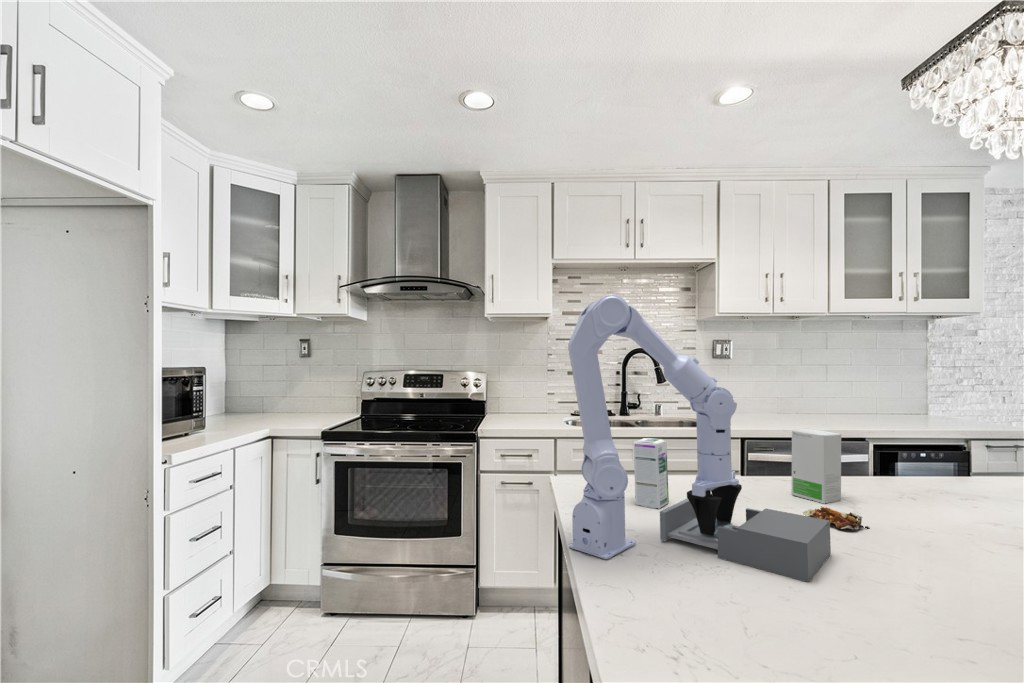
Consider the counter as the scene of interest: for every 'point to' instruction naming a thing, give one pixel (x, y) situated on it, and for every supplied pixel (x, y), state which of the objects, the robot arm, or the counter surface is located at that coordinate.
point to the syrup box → (651, 472)
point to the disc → (722, 524)
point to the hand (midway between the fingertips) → (715, 528)
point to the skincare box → (816, 465)
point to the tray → (684, 525)
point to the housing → (777, 543)
